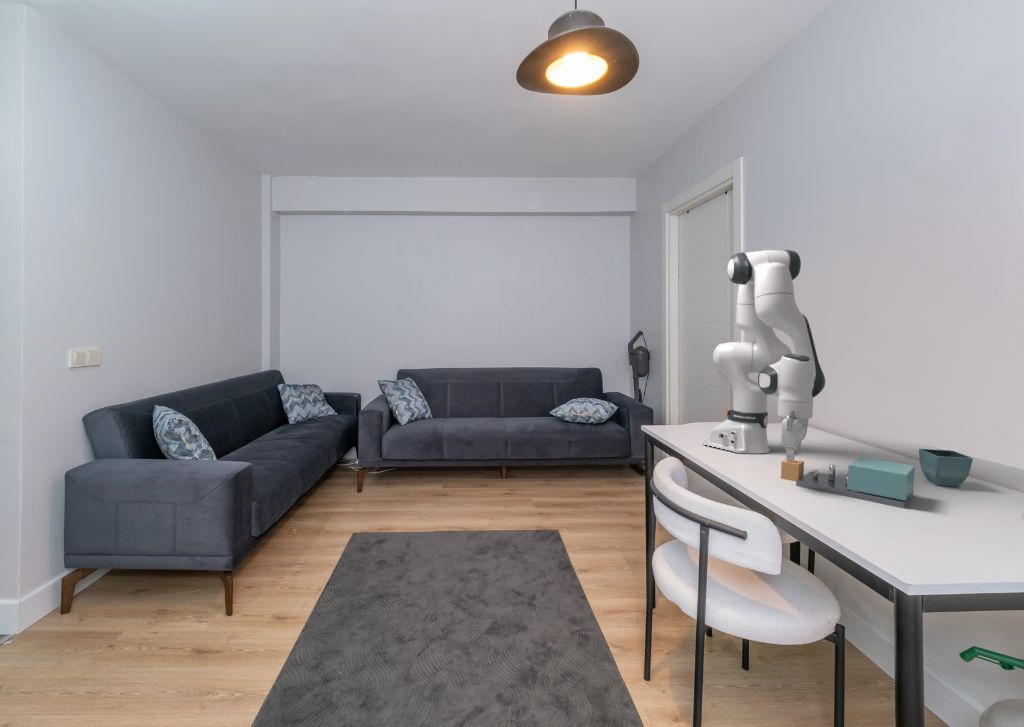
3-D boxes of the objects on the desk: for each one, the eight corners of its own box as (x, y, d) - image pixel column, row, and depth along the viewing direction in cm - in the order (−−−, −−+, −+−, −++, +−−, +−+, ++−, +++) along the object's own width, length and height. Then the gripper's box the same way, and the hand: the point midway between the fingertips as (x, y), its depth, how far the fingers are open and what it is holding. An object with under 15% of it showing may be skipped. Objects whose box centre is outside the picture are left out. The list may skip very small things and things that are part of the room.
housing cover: (847, 488, 130) (848, 464, 129) (858, 479, 138) (859, 457, 138) (905, 500, 121) (906, 474, 121) (913, 489, 129) (914, 465, 129)
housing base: (796, 485, 138) (796, 464, 138) (810, 476, 147) (811, 456, 147) (904, 508, 121) (905, 484, 120) (913, 496, 130) (914, 473, 129)
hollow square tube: (780, 478, 145) (781, 461, 145) (786, 475, 148) (787, 458, 148) (798, 481, 142) (799, 464, 141) (803, 478, 145) (804, 461, 144)
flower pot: (972, 490, 135) (974, 457, 134) (935, 487, 137) (937, 456, 136) (950, 480, 144) (952, 450, 143) (916, 478, 145) (917, 448, 145)
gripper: (801, 415, 133) (799, 466, 134) (812, 408, 149) (810, 453, 150) (775, 413, 137) (773, 462, 137) (788, 406, 153) (786, 450, 154)
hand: (793, 457), depth 144 cm, fingers open, 8 cm apart
